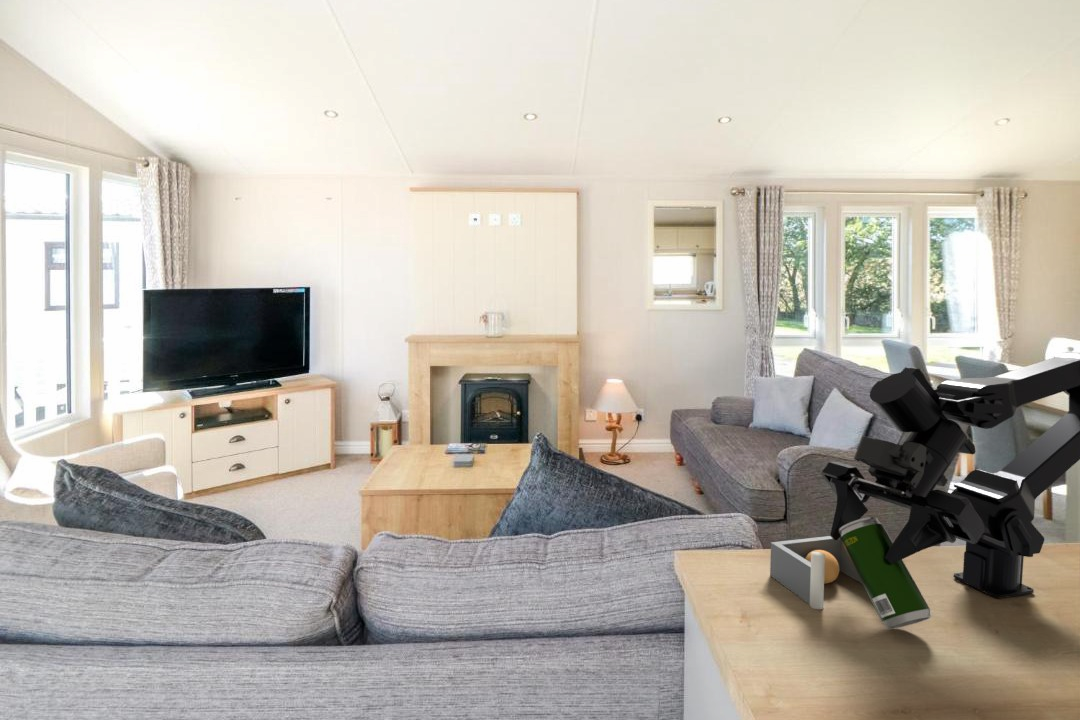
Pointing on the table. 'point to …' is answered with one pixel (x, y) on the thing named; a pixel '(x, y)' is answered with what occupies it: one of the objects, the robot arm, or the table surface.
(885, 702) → the table surface
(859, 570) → the beer can
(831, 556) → the ball
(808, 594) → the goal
